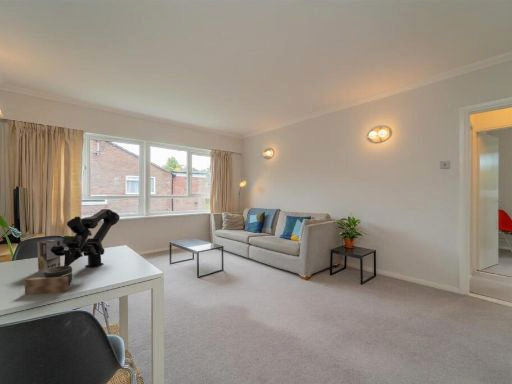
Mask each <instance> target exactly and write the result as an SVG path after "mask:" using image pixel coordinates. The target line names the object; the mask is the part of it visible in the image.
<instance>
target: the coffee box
mask: <svg viewBox="0 0 512 384" xmlns="http://www.w3.org/2000/svg"><path fill="white" fill-rule="evenodd" d="M53 246H61V241H60V240H57V239H47V240H42V241H37V262H38V263H37V265H38V266H37V270H38V272H39V273H43V274H44V272H45V271H46V270H48V269H50V268H54V267H59V266H61V256H56V255H55V254H54V253H52V252H51V251H50V250H51V248H52V247H53Z"/></svg>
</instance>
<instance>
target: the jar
mask: <svg viewBox="0 0 512 384" xmlns="http://www.w3.org/2000/svg"><path fill="white" fill-rule="evenodd" d="M43 277H68V281H69V285H71V283H72V281H73V267H72V265H69V266H64V265H60V266H59V267H54V268H50V269H48V270H46V271H45V272H44V273H43Z"/></svg>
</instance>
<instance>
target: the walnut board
mask: <svg viewBox="0 0 512 384" xmlns="http://www.w3.org/2000/svg"><path fill="white" fill-rule="evenodd" d="M69 285H70V284H69V281H68V277H44V276H43V277H28V278H25V279H24V294H25V295H31V294H32V295H35V294H50V293H51V294H53V293H55V294H56V293H66V292H68V291H69V289H70V287H69Z"/></svg>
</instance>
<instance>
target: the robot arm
mask: <svg viewBox="0 0 512 384" xmlns="http://www.w3.org/2000/svg"><path fill="white" fill-rule="evenodd" d="M119 220H120V215H119V214H118V213H117V212H115V211H112V209H109V208H103V209H100V210H99V211H98V212H96V213H95V214H93V215H91V216H86V217H82V218H81V217H80V216H75V217H72V218H71V219H70V220H68V221H67V222H66V225H67V227H68V228H69V229H70V231H71V232H73V234H74V236H73V235H71V236H70V235H68V236H63V238H62V241H61V244H64V245H65V247H64V246H63V245H60V246H53V247H52V248H51V250H50V251H51V252H52V253H54V254H55V255H56V256H60V257H64V264H63V266H71V265H72V264H73V263H74V262H75V261H77V260H79V259H80V258H82V257H83V256H84V257H87V264H85V265H84V266H85V267H88V268H96V267H98V266H102V265H104V263H103V262H102V255H104V254H105V248H104V247H103V243H102V242H103V240H104V239H105V237H106V236H107V234H108V233H109V231H110V229H111V227H113V226H114V225H116V224H117V223H118V222H119ZM101 221H103V223H102V224H101V226H100V227H99V229H98V230H97V232H96V233H95V235H94V236H93V237H92V238H89V237H91V236H92V234H93V233H92V231H91V230H90V229H92V230H93V229H95V228H96V227H97V226H98V225H99V222H101Z"/></svg>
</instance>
